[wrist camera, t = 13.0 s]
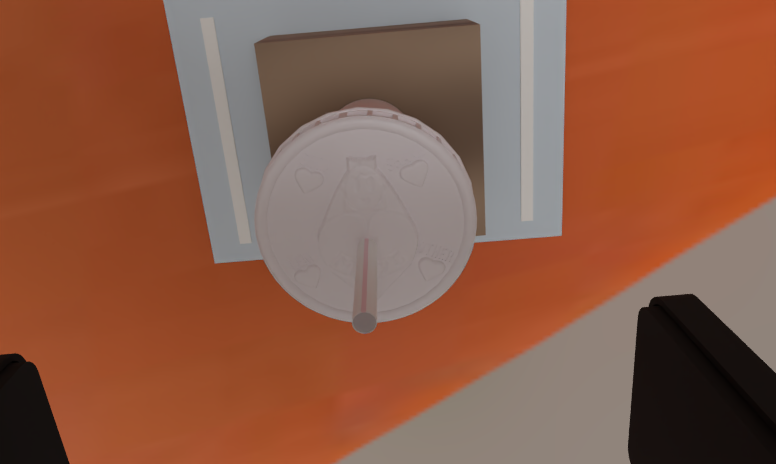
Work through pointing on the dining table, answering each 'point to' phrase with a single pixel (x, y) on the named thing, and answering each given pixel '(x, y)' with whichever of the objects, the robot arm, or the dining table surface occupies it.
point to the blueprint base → (368, 12)
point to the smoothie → (365, 215)
